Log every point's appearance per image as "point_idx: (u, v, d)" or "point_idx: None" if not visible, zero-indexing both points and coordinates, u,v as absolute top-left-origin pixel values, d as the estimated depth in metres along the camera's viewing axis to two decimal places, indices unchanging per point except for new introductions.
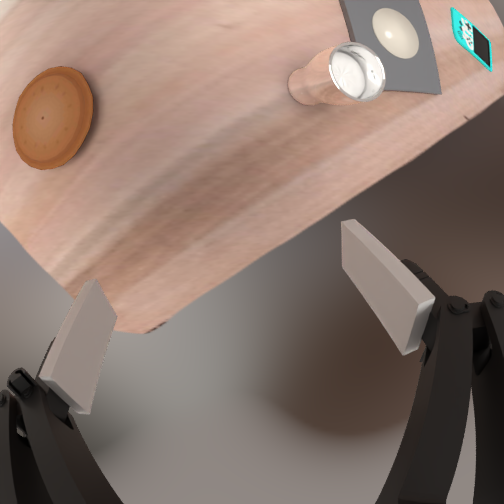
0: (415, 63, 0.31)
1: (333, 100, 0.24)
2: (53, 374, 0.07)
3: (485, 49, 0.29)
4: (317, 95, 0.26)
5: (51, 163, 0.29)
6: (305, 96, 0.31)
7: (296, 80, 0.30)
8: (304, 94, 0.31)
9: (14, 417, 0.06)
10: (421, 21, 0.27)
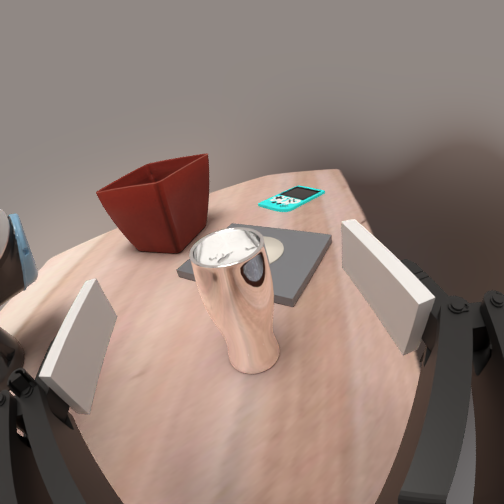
0: (291, 247, 0.47)
1: (249, 295, 0.22)
2: (53, 374, 0.07)
3: (303, 191, 0.73)
4: (241, 318, 0.23)
5: None
6: (253, 352, 0.27)
7: (232, 352, 0.28)
8: (249, 350, 0.27)
9: (14, 417, 0.06)
10: (257, 229, 0.55)
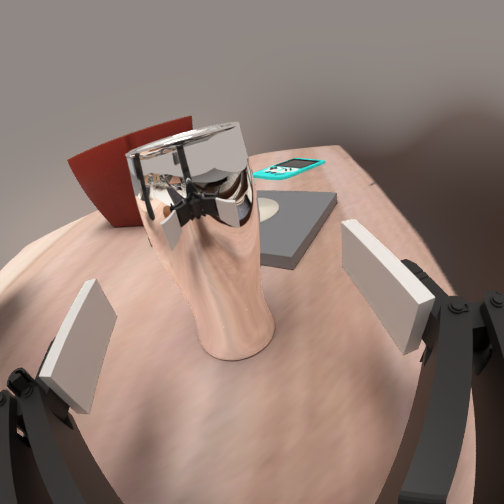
0: (288, 206, 0.37)
1: (213, 202, 0.13)
2: (53, 374, 0.07)
3: (301, 161, 0.63)
4: (201, 248, 0.13)
5: None
6: (231, 322, 0.17)
7: (199, 324, 0.18)
8: (224, 319, 0.17)
9: (14, 417, 0.06)
10: None
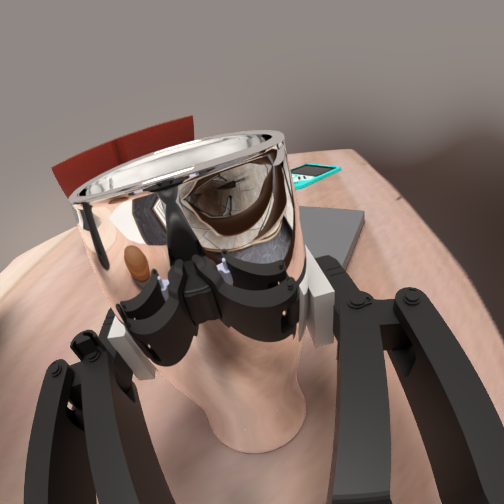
0: (310, 227, 0.31)
1: (241, 307, 0.06)
2: (126, 333, 0.09)
3: (315, 168, 0.57)
4: (218, 373, 0.07)
5: None
6: (256, 426, 0.11)
7: (211, 419, 0.12)
8: (247, 424, 0.11)
9: (67, 392, 0.07)
10: None
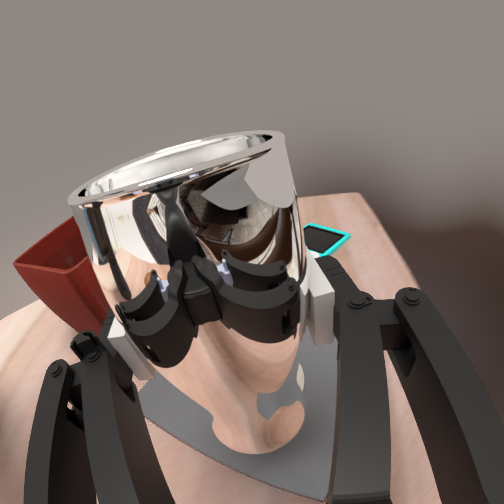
0: (317, 375, 0.24)
1: (241, 308, 0.06)
2: None
3: (320, 234, 0.50)
4: (218, 375, 0.07)
5: None
6: (256, 426, 0.11)
7: (211, 420, 0.12)
8: (247, 425, 0.11)
9: (67, 393, 0.07)
10: None
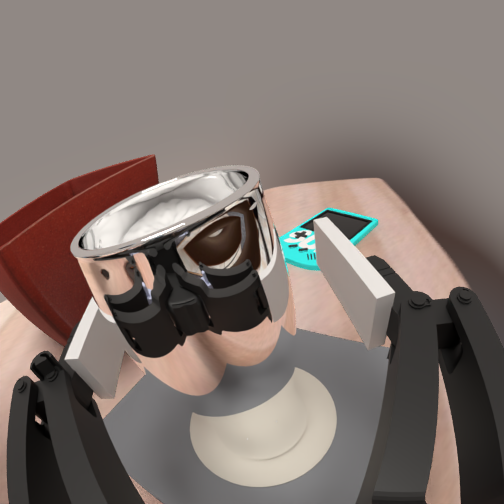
0: (355, 410, 0.15)
1: (224, 339, 0.07)
2: (80, 356, 0.08)
3: (342, 219, 0.41)
4: (212, 393, 0.08)
5: None
6: (257, 435, 0.11)
7: (216, 430, 0.13)
8: (248, 434, 0.11)
9: (33, 406, 0.06)
10: None
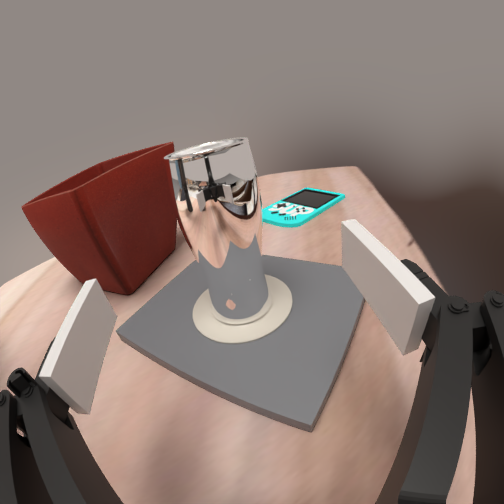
0: (305, 297, 0.26)
1: (228, 194, 0.18)
2: (53, 374, 0.07)
3: (315, 195, 0.52)
4: (219, 228, 0.19)
5: None
6: (237, 290, 0.22)
7: (212, 293, 0.24)
8: (232, 287, 0.22)
9: (14, 417, 0.06)
10: None
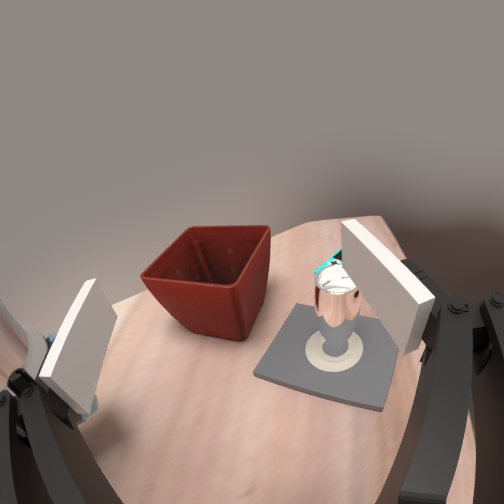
0: (369, 342, 0.42)
1: (353, 309, 0.34)
2: (53, 374, 0.07)
3: None
4: (345, 323, 0.35)
5: None
6: (342, 346, 0.39)
7: (326, 347, 0.40)
8: (340, 345, 0.38)
9: (14, 417, 0.06)
10: None
